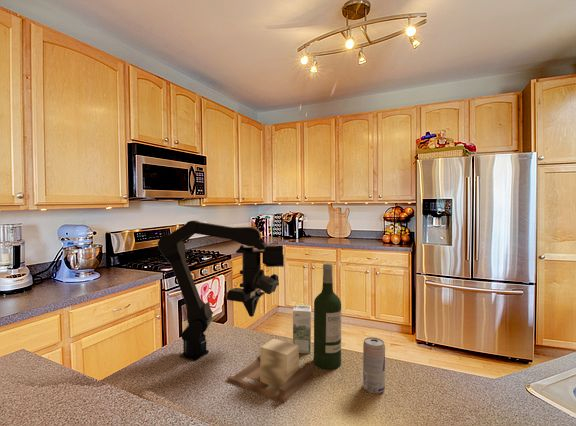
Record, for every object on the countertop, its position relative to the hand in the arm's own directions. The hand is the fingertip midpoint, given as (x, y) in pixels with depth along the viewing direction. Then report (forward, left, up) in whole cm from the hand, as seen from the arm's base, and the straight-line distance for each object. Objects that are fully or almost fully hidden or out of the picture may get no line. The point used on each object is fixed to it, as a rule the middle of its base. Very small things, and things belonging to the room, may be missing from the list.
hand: (251, 316), depth 95 cm
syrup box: (+14, +8, -12) cm, 20 cm away
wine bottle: (+24, +3, -12) cm, 27 cm away
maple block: (+15, -11, -11) cm, 22 cm away
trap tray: (+13, -11, -12) cm, 21 cm away
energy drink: (+38, -2, -12) cm, 40 cm away
